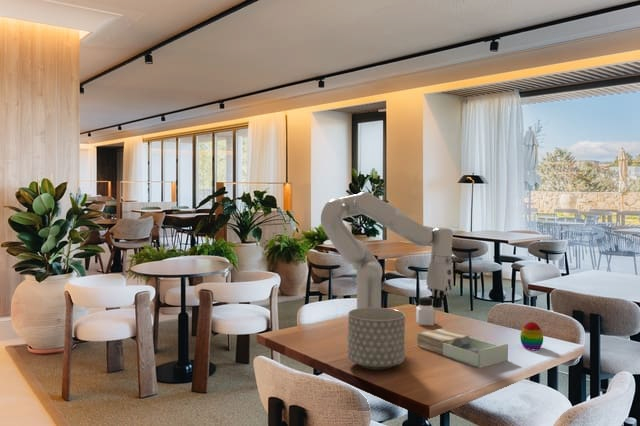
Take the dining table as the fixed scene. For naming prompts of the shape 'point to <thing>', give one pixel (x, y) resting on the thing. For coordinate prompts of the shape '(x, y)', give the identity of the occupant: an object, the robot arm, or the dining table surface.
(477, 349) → the tile front
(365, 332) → the planter
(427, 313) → the medicine bottle
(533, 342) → the decorative egg
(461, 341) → the tile rear
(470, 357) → the tray
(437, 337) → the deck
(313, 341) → the dining table surface
